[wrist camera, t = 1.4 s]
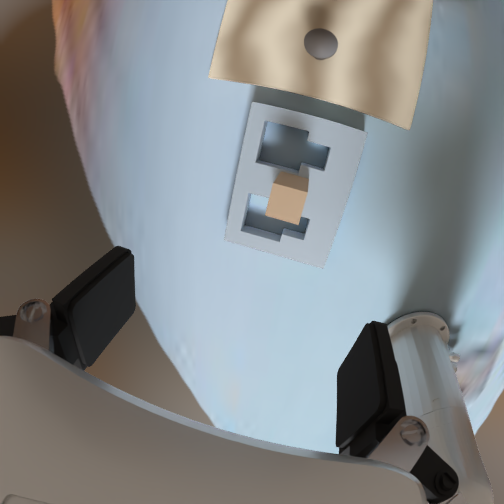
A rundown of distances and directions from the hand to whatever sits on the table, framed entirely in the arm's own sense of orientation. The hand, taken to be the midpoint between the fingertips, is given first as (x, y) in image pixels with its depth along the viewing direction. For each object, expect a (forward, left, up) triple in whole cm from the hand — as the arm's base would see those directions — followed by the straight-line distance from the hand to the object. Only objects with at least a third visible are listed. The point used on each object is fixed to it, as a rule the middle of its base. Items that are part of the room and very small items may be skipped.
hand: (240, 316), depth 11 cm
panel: (0, 0, -23) cm, 23 cm away
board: (0, -19, -23) cm, 30 cm away
